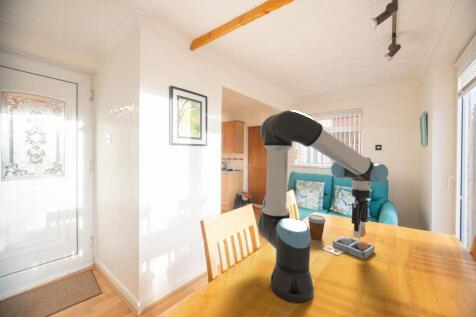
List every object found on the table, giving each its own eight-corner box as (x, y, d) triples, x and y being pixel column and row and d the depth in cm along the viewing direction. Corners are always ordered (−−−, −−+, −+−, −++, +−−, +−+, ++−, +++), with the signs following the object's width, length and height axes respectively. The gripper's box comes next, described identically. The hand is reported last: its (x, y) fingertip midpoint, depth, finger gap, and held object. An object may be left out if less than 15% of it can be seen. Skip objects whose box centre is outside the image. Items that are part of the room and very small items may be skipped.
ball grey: (348, 249, 102) (349, 240, 102) (339, 246, 106) (339, 236, 106) (353, 247, 105) (353, 237, 105) (343, 243, 109) (343, 234, 109)
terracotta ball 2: (366, 254, 98) (366, 244, 98) (355, 250, 102) (355, 240, 102) (370, 251, 101) (370, 241, 101) (359, 247, 105) (359, 238, 105)
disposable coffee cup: (327, 241, 111) (328, 220, 111) (310, 241, 111) (311, 219, 111) (321, 234, 121) (321, 214, 120) (305, 234, 121) (305, 214, 121)
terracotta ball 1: (363, 239, 95) (363, 229, 94) (351, 236, 99) (352, 226, 98) (367, 237, 98) (367, 227, 97) (356, 233, 102) (356, 224, 101)
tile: (337, 255, 96) (337, 254, 96) (322, 248, 103) (322, 247, 103) (343, 252, 100) (343, 251, 100) (328, 245, 106) (328, 244, 106)
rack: (364, 259, 93) (364, 253, 93) (332, 247, 105) (332, 241, 105) (374, 251, 101) (374, 245, 101) (344, 240, 113) (344, 235, 112)
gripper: (361, 192, 89) (359, 243, 90) (376, 188, 100) (375, 234, 101) (344, 189, 95) (342, 238, 96) (360, 186, 106) (358, 229, 107)
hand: (359, 236), depth 98 cm, fingers closed on terracotta ball 1, 5 cm apart
